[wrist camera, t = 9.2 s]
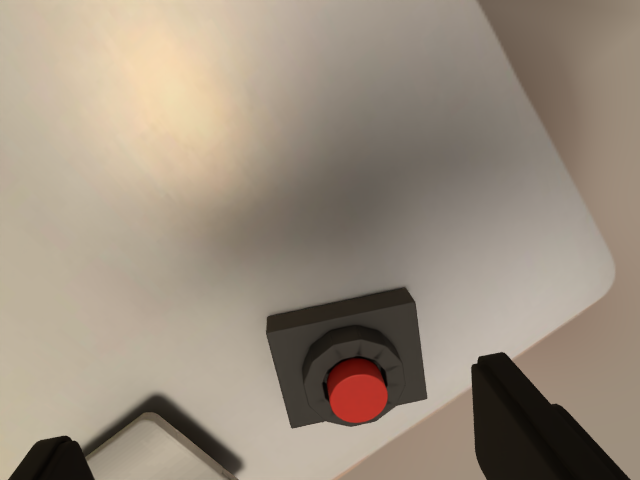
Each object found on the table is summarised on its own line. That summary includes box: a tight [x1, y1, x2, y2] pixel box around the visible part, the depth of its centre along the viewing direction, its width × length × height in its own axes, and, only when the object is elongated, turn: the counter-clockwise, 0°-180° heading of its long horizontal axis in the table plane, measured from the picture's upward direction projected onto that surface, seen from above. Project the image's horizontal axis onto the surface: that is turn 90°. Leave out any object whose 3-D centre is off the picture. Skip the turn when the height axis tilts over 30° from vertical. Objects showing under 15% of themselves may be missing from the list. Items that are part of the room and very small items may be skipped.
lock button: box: [327, 358, 388, 423], centre depth 26 cm, size 4×4×2 cm
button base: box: [266, 288, 427, 428], centre depth 28 cm, size 10×8×4 cm
